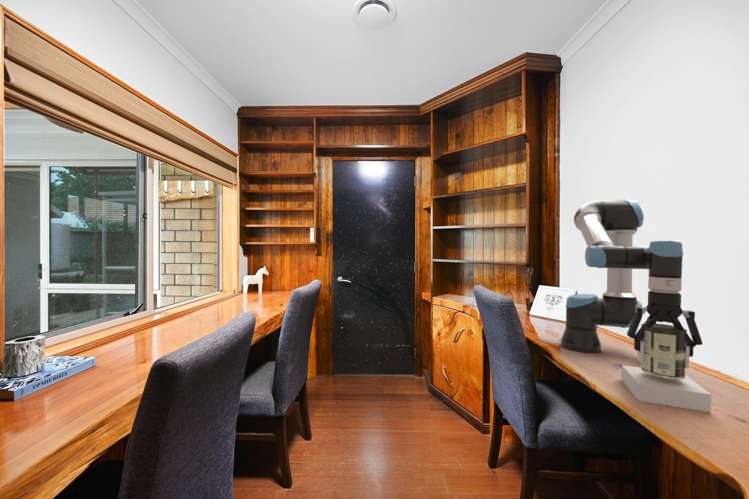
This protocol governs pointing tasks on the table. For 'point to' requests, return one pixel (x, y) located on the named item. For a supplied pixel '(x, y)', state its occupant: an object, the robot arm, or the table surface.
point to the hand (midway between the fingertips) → (662, 364)
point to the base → (666, 390)
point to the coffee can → (664, 351)
